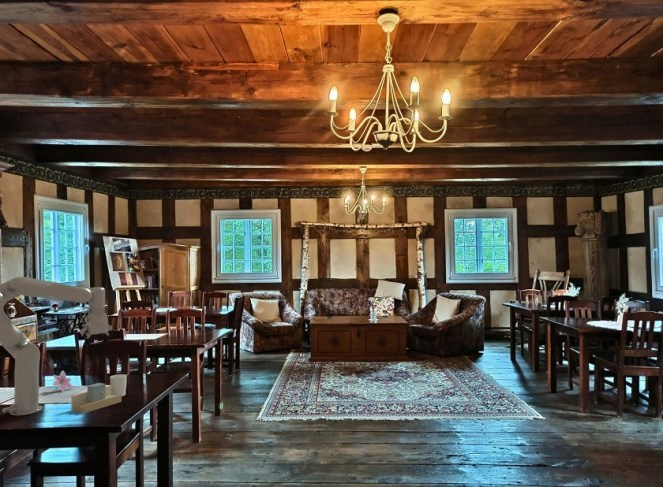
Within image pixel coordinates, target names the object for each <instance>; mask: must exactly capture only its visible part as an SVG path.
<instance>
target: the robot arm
mask: <svg viewBox="0 0 663 487" xmlns="http://www.w3.org/2000/svg"><path fill="white" fill-rule="evenodd" d="M18 296H24V297H33V298H38V299H39V298H40V299H46V300H53V301H57V300H59V301H64V302H65V301H66V302H74V303H79V304H86V303H88V309H87V310H86V313H88V314H87V316H86V321H85V327H83V328H82V329H80V330H79V333H80V335H81V337H82V338H83V339H84V347H87V348H89V347H91V338H90V337H91V336H92V335H99V334H100V335H101V334H103V336H102V344H106V345H107V344H109V343H108V342H109V336H110V334H111V332H112V330H113V328H114V327H113V326H112V325H109V321H108V320H109V319H108V314H107V313H106V288H104V287H101V286H97V287H95V286H94V287H83V286H82V287H80V286H76V285H69V284H63V283H59V282H56V281H50V280H45V279H44V280H43V279H38V278H33V277H32V278H31V277H25V276H15V277H13V278H11V279H9V280H8V281H6V282H3V283H2V284H0V345H1V346H2V347H3V348H4V349H5V350H6V351H7V352H8V354H10V355H11V356H12V357H13V358H14V360H15V365H14V395H13V396H14V399H13V400H14V402H13V403H12V404H11V405H10V406H9V407H7V406H6V407H4V408H2V413H3V414H5V413H9V415H11V416H26V415H31V414H35V413H38V412H40V411H42V410H43V406H42V405H39V403H40V402H39V397H40V394H39V389H40V388H39V386H40V360H41V351H40V349H39V347H38V345H36V344H34V343H33V342H32V341H31V340H29V339H30V338H28V337H27V336H26V335H25V334H24V333H23V330H22V329H21V328H20V327H18V326H17V325H16V324H15V323H14V322H13V321H12V320H11V319H10V318H9V316H8V315H7V314H6V313H5V311H4V307H5V305H6V303H7V302H9V301H11V300H13V299H15V298H16V297H18Z"/></svg>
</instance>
